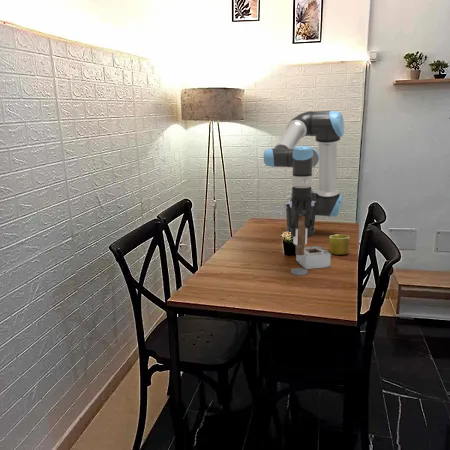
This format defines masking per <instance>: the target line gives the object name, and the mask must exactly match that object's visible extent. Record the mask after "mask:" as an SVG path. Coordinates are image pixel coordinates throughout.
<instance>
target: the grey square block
mask: <svg viewBox="0 0 450 450" xmlns="http://www.w3.org/2000/svg"><path fill="white" fill-rule="evenodd" d="M295 255H296V254H295ZM331 256H332V254H331V253H330V251H328V250H326V249H325V248H324V247H323V246H321V245H313V246H304V255H296V257H295V261H296V262H297V263H298V264H299V265H301V266H302V268H303V269H306V270H311V269H312V270H313V269H322V268H330V267H331V259H332V258H331Z"/></svg>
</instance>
